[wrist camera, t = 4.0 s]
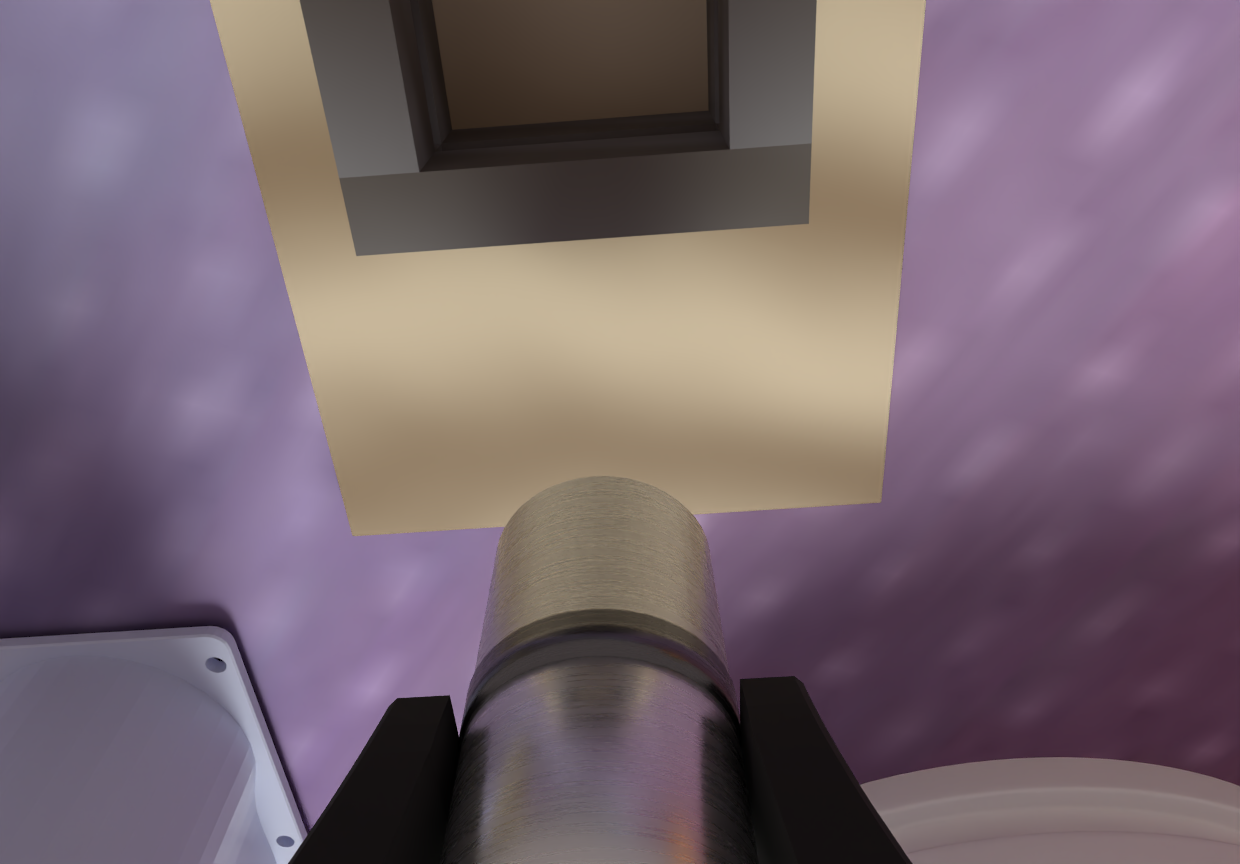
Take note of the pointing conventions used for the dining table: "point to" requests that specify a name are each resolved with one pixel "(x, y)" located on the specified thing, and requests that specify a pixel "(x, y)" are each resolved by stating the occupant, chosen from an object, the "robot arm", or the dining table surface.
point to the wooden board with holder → (587, 242)
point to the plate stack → (1060, 813)
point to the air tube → (601, 692)
